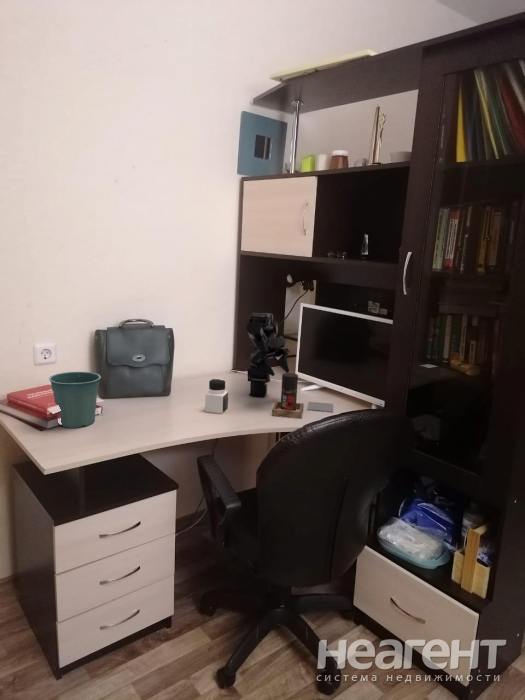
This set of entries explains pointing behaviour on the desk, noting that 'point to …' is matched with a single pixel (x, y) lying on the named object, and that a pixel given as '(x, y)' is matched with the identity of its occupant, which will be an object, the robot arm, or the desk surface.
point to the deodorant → (289, 391)
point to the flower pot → (76, 397)
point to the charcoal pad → (320, 407)
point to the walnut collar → (287, 412)
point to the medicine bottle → (216, 397)
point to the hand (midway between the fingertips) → (281, 373)
